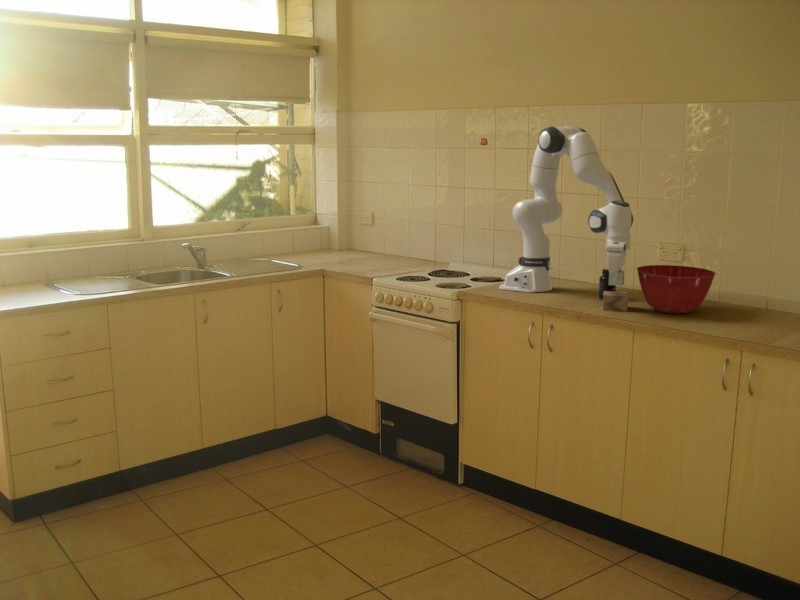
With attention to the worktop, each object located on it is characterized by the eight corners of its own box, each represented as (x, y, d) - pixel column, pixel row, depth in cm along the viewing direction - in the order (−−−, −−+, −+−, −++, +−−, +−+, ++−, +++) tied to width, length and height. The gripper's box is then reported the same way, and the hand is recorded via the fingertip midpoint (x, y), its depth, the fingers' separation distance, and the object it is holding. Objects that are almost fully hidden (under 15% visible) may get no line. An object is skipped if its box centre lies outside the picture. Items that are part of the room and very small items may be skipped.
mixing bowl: (712, 305, 321) (715, 266, 318) (713, 320, 294) (716, 278, 291) (637, 301, 330) (639, 262, 327) (631, 315, 304) (634, 273, 301)
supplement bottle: (616, 300, 331) (617, 271, 329) (598, 299, 333) (600, 270, 330) (615, 297, 338) (616, 268, 336) (598, 296, 339) (599, 267, 337)
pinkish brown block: (602, 310, 313) (603, 295, 311) (602, 306, 321) (603, 291, 320) (627, 311, 311) (628, 296, 309) (626, 307, 319) (627, 291, 318)
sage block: (608, 285, 313) (609, 272, 312) (610, 282, 317) (611, 270, 316) (621, 285, 311) (622, 272, 310) (623, 283, 315) (624, 270, 314)
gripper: (613, 240, 322) (612, 275, 324) (605, 246, 303) (603, 283, 306) (630, 241, 319) (628, 276, 322) (622, 247, 301) (620, 285, 303)
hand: (616, 280), depth 314 cm, fingers closed on sage block, 5 cm apart
